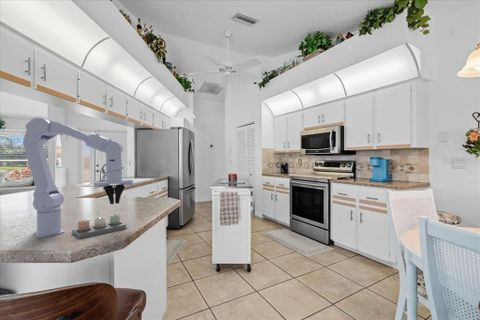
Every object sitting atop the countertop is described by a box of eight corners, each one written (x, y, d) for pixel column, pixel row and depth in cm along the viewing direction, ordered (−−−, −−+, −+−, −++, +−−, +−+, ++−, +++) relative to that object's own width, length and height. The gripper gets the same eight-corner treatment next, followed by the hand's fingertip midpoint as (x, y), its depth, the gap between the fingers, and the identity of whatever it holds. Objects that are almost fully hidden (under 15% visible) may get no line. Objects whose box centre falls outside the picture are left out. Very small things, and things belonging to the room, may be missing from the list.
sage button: (108, 224, 95) (108, 215, 95) (117, 222, 98) (117, 213, 98) (111, 225, 93) (111, 216, 93) (121, 223, 95) (121, 214, 95)
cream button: (93, 227, 91) (93, 217, 91) (103, 225, 93) (103, 216, 93) (96, 228, 88) (96, 219, 88) (106, 226, 91) (106, 217, 91)
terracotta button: (76, 230, 87) (76, 220, 87) (87, 228, 89) (87, 218, 89) (79, 232, 84) (79, 222, 84) (90, 229, 87) (90, 220, 87)
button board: (72, 233, 88) (72, 229, 88) (116, 224, 100) (116, 220, 100) (80, 238, 82) (80, 234, 82) (126, 228, 94) (126, 224, 94)
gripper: (97, 171, 87) (98, 207, 87) (135, 170, 98) (136, 201, 98) (91, 171, 92) (92, 205, 92) (128, 169, 103) (129, 200, 103)
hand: (114, 203), depth 95 cm, fingers closed
